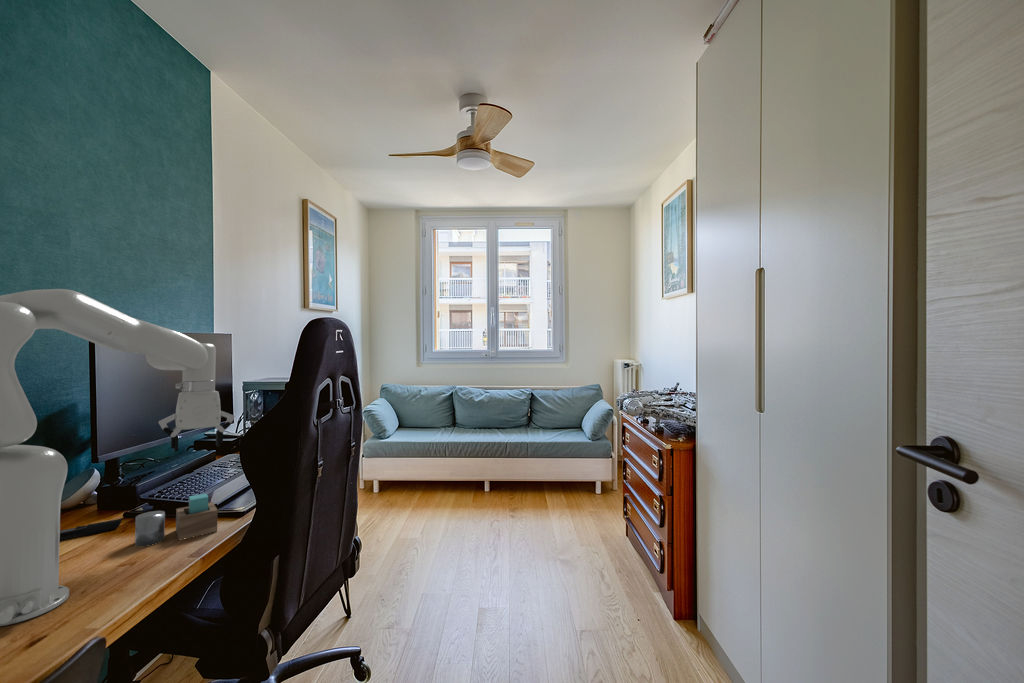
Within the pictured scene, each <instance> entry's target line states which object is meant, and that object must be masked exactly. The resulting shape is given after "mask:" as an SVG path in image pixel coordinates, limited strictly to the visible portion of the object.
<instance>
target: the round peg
mask: <svg viewBox="0 0 1024 683" xmlns="http://www.w3.org/2000/svg"><path fill="white" fill-rule="evenodd" d="M165 522H166V511H165V510H154V511H153V510H152V511H147V512H144V513H140V514H138V515H136V516H135V526H134V527H135V529H134V531H135V532H134V536H135V537H134V546H135V545H136V546H135V547H138V546H145V547H148V546H147V545H150V546H153V545H152V544H154V545H156V544H155V543H157V544H159V543H158V542H160V541H162V540H163V539H164V540H165V538H166V537H165V535H166V534H165V533H166V532H165V531H166V530H165V527H166V526H165V525H166V523H165ZM164 540H163V541H164ZM163 541H162V542H163ZM160 543H161V542H160Z"/></svg>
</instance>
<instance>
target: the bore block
mask: <svg viewBox="0 0 1024 683" xmlns="http://www.w3.org/2000/svg"><path fill="white" fill-rule="evenodd" d="M175 510H176V511H175V514H176V515H175V532H176V535H178V536H177V539H178V538H179V539H183V540H185V539H184V538H188V539H190V538H189V537H192V538H194V537H193V536H196V537H199V536H198V535H201V536H203V535H202V534H205V535H208V533H209V534H213V533H212V532H214V533H217V532H218V512H219V511H218V508H217V507H216V505H215V503H214V501H210V502H208V510H207V511H202V512H197V513H192V514H189V505H188V506H184V507H178V508H176V509H175ZM216 531H217V532H216ZM179 539H178V540H179Z"/></svg>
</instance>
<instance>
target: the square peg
mask: <svg viewBox="0 0 1024 683" xmlns="http://www.w3.org/2000/svg"><path fill="white" fill-rule="evenodd" d="M208 503H209V495H208V494H207V493H201V494H200V493H199V494H195V495H190V496H188V506H189V514H192V513H197V512H202V511H207V510H208Z"/></svg>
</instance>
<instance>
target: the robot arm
mask: <svg viewBox="0 0 1024 683" xmlns="http://www.w3.org/2000/svg"><path fill="white" fill-rule="evenodd" d="M37 330H58V331H62V332H65V333H67V334H70V335H73V336H75V337H77V338H80V339H83V340H85V341H88V342H90V343H93V344H96V345H98V346H101V347H104V348H106V349H110V350H112V351H117V352H122V353H126V354H127V353H128V354H136V355H138V354H139V355H145V360H146V362H147V363H148V364H149V366H151V367H152V368H155V369H157V370H161V371H182V380H181V382H179V383H175V389H179V390H181V392H179V393H178V395H177V396H178V397H177V402H176V408H175V413H172V415H169V416H167V417H165V418H162V419H160V420H158V424H159V426H160V428H161V430H162V431H163V432H164V433H165V434H167V435H168V436H170V448H171V450H172V449H173V451H174V452H175V453H176V452H179V436H178V434H180V432H181V431H182V430H183V431H185V430H196V429H206V428H215V429H216V430H217V431H216V432H215V446H216V447H218V448H219V447H221V444H223V443H224V432H225V430H227V429H228V428H229V427H230V426H231V424H232V423H233V421H234V419H235V415H233V414H230V413H229V412H226V411H223V410H221V408H222V407H221V398H220V393H219V392H220V391H217V390H216V364H217V362H216V360H217V359H216V358H217V356H216V355H217V348H216V346H215V345H214V344H213V343H209V342H206V343H205V342H199V341H197V340H196V339H194V338H192V337H190V336H188V335H186V334H184V333H182V332H180V331H179V332H178V331H176V330H173V329H170V328H168V327H164V326H160V325H158V324H154V323H151V322H148V321H145V320H142V319H138V318H135V317H132V316H131V315H128V314H126V313H124V312H121V311H120V310H117V309H115V308H113V307H111V306H110V305H107V304H106V303H102V302H101V301H98V300H97V299H95V298H93V297H90V296H88V295H86V294H83V293H81V292H79V291H75V290H72V289H67V288H52V289H51V288H50V289H49V288H48V289H31V290H25V291H18V292H13V293H9V294H2V295H0V627H4V626H9V625H14V624H18V623H21V622H24V621H28V620H30V619H33V618H36V617H38V616H41V615H43V614H45V613H47V612H49V611H52V610H54V609H55V608H57V607H59V606H60V605H62V604H63V603H64V602H65V601H67V599H68V598H69V597H70V588H69V587H68V586H65V585H61V584H60V585H59V582H60V543H61V542H60V541H61V540H60V530H61V506H62V505H61V504H62V503H61V502H62V496H63V490H64V488H65V484H66V481H67V476H68V471H69V470H68V467H69V466H68V462H67V460H66V458H65V457H64V455H63V454H62V453H60V452H59V451H58V450H56V449H54V448H50V447H46V446H41V445H29V444H22V443H24V442H26V441H27V440H29V439H30V438H31V437H33V435H34V434H35V432H36V430H37V427H38V420H37V417H36V414H35V412H34V410H33V408H32V405H31V403H30V402H29V400H28V397H27V395H26V393H25V392H24V389H23V387H22V385H21V383H20V381H19V378H18V376H17V372H16V369H15V364H16V363H15V362H16V358H17V355H18V353H19V352H20V350H21V348H22V347H23V346H24V345H25V344H26V343H27V342H28V341H29V340H30V339H31V337H32V336H33V335H34V333H35V332H36V331H37ZM223 417H224V418H226V421H225V422H224V423H223V424H222V425H221V420H222V419H221V418H223ZM172 421H174V424H175V427H174V428H173V429H171V428H170V427H168V425H167V424H168V423H170V422H172Z"/></svg>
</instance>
